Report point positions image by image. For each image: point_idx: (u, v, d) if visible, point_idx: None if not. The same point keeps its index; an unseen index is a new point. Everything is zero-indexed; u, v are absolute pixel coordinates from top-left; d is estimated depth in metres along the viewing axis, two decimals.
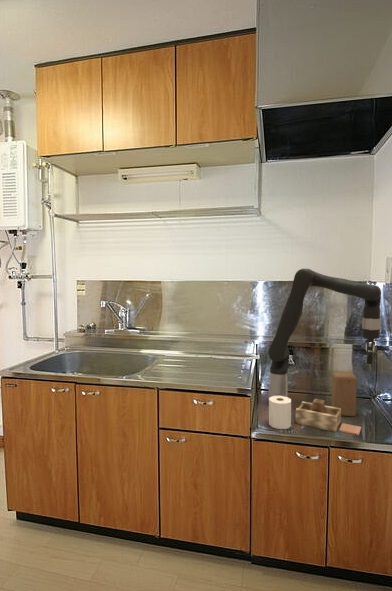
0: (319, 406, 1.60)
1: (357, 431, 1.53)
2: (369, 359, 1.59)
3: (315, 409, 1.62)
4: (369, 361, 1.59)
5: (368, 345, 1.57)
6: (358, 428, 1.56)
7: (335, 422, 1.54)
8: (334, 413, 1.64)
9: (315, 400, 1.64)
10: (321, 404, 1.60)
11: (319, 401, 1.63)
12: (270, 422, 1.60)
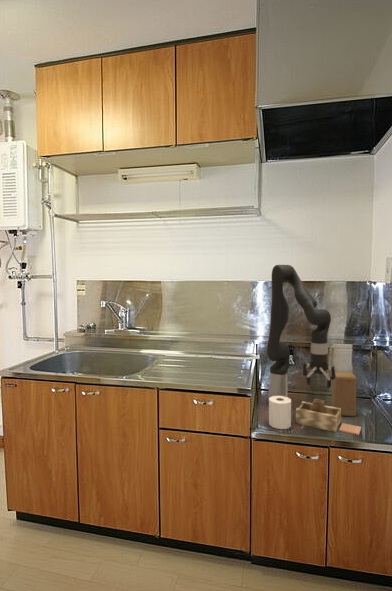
0: (319, 406, 1.60)
1: (357, 431, 1.53)
2: None
3: (315, 409, 1.62)
4: None
5: (334, 369, 1.58)
6: (358, 428, 1.56)
7: (335, 422, 1.54)
8: (334, 413, 1.64)
9: (315, 400, 1.64)
10: (321, 404, 1.60)
11: (319, 401, 1.63)
12: (270, 422, 1.60)
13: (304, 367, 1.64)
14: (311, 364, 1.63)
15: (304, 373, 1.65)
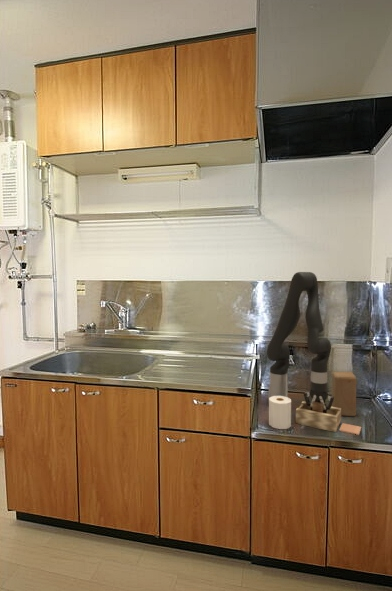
0: (319, 406, 1.61)
1: (357, 431, 1.53)
2: (324, 412, 1.62)
3: (315, 409, 1.62)
4: None
5: None
6: (358, 428, 1.56)
7: (335, 422, 1.54)
8: (334, 413, 1.64)
9: None
10: (321, 404, 1.60)
11: None
12: (270, 422, 1.60)
13: (305, 397, 1.65)
14: (310, 392, 1.64)
15: (307, 403, 1.65)
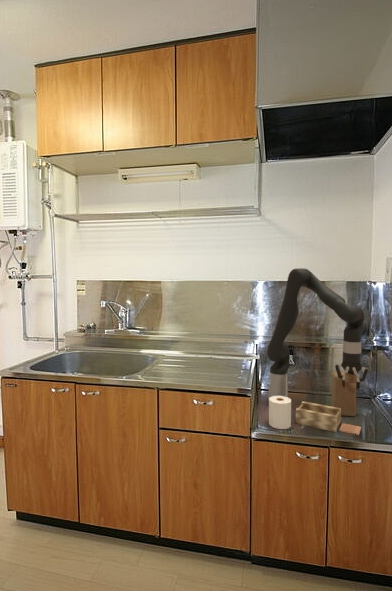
0: (352, 378, 1.52)
1: (357, 431, 1.53)
2: None
3: (348, 381, 1.53)
4: None
5: None
6: (358, 428, 1.56)
7: (335, 422, 1.54)
8: (334, 413, 1.64)
9: None
10: (355, 376, 1.52)
11: None
12: (270, 422, 1.60)
13: (337, 369, 1.57)
14: (343, 364, 1.55)
15: (339, 375, 1.56)
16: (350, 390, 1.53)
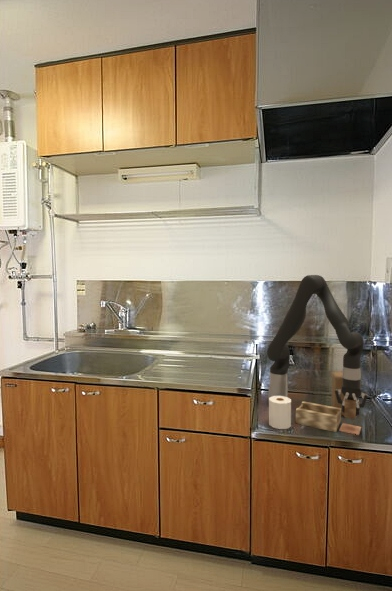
0: (352, 404, 1.53)
1: (357, 431, 1.53)
2: None
3: (348, 407, 1.54)
4: None
5: None
6: (358, 428, 1.56)
7: (335, 422, 1.54)
8: (334, 413, 1.64)
9: None
10: (354, 402, 1.52)
11: (351, 399, 1.55)
12: (270, 422, 1.60)
13: (336, 394, 1.57)
14: (342, 389, 1.56)
15: (339, 401, 1.57)
16: (350, 416, 1.54)
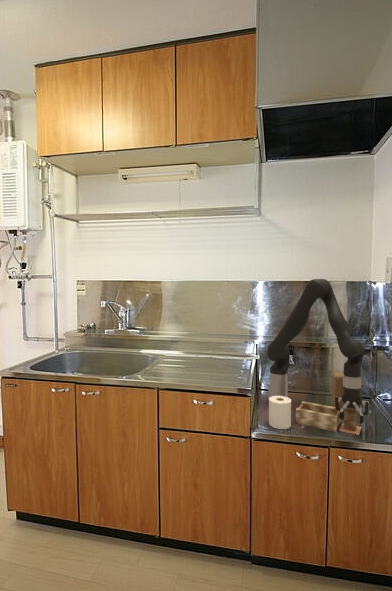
0: (352, 416, 1.53)
1: (357, 431, 1.53)
2: None
3: (347, 419, 1.54)
4: (362, 420, 1.53)
5: (368, 405, 1.51)
6: (358, 428, 1.56)
7: (335, 422, 1.54)
8: (334, 413, 1.64)
9: (347, 410, 1.57)
10: (354, 414, 1.53)
11: (351, 411, 1.55)
12: (270, 422, 1.60)
13: (336, 401, 1.58)
14: (343, 398, 1.56)
15: (337, 407, 1.58)
16: (349, 428, 1.54)
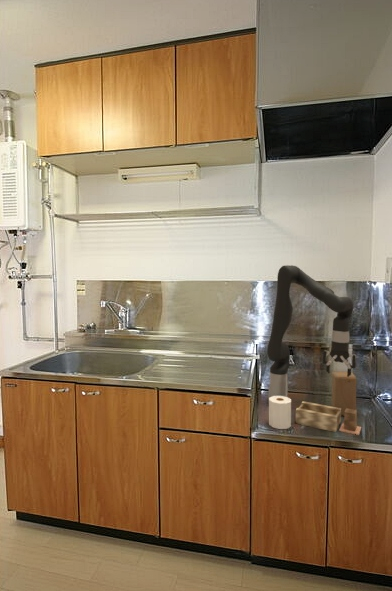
0: (352, 416, 1.53)
1: (357, 431, 1.53)
2: None
3: (347, 419, 1.54)
4: None
5: (355, 358, 1.55)
6: (358, 428, 1.56)
7: (335, 422, 1.54)
8: (334, 413, 1.64)
9: (347, 410, 1.57)
10: (354, 414, 1.53)
11: (351, 411, 1.55)
12: (270, 422, 1.60)
13: (324, 355, 1.62)
14: (331, 352, 1.60)
15: (324, 361, 1.62)
16: (349, 428, 1.54)
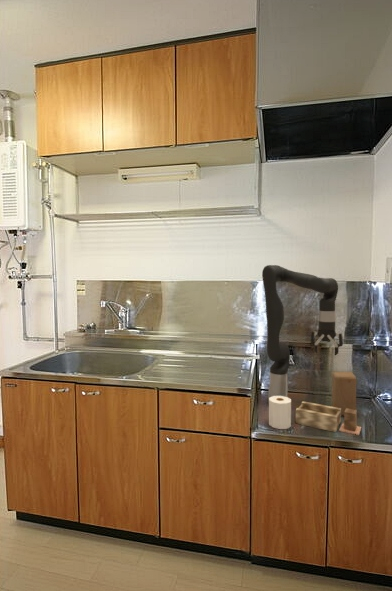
0: (352, 416, 1.53)
1: (357, 431, 1.53)
2: None
3: (347, 419, 1.54)
4: None
5: (341, 336, 1.61)
6: (358, 428, 1.56)
7: (335, 422, 1.54)
8: (334, 413, 1.64)
9: (347, 410, 1.57)
10: (354, 414, 1.53)
11: (351, 411, 1.55)
12: (270, 422, 1.60)
13: (312, 335, 1.68)
14: (319, 332, 1.66)
15: (312, 341, 1.68)
16: (349, 428, 1.54)
